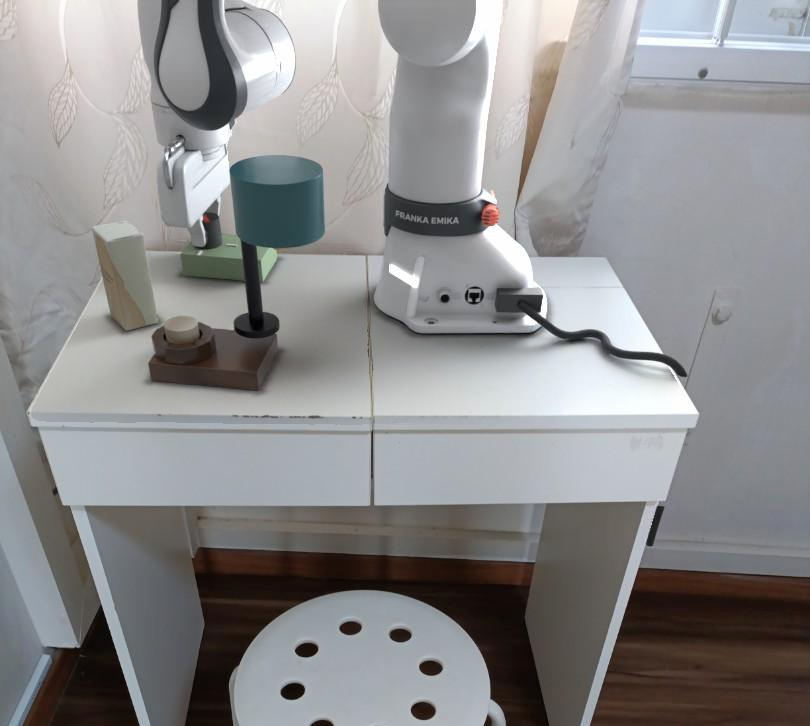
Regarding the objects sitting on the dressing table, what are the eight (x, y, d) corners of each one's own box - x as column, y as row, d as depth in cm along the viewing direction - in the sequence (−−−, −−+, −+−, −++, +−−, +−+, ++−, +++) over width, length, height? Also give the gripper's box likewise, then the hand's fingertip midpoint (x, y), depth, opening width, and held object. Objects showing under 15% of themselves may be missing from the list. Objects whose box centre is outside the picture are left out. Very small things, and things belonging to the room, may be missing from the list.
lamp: (335, 315, 91) (330, 158, 80) (319, 353, 85) (312, 187, 73) (246, 308, 92) (229, 151, 81) (223, 345, 85) (201, 179, 74)
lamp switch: (204, 331, 88) (202, 317, 87) (194, 347, 86) (191, 332, 85) (172, 329, 89) (170, 314, 87) (161, 344, 86) (158, 329, 85)
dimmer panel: (277, 258, 113) (275, 236, 111) (262, 282, 107) (260, 259, 105) (191, 251, 114) (187, 229, 112) (171, 275, 108) (167, 251, 106)
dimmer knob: (189, 239, 109) (185, 211, 107) (218, 236, 110) (215, 208, 108) (195, 250, 106) (191, 222, 104) (225, 247, 108) (222, 218, 105)
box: (110, 315, 98) (89, 225, 91) (143, 307, 100) (125, 218, 93) (126, 332, 95) (106, 240, 88) (160, 323, 97) (143, 232, 90)
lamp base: (278, 350, 93) (275, 319, 90) (258, 390, 86) (255, 357, 84) (176, 341, 94) (171, 310, 91) (149, 380, 87) (142, 347, 84)
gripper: (189, 151, 91) (205, 269, 100) (239, 106, 106) (249, 212, 115) (135, 148, 91) (156, 265, 100) (193, 103, 106) (206, 209, 116)
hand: (206, 237), depth 108 cm, fingers closed on dimmer knob, 4 cm apart
